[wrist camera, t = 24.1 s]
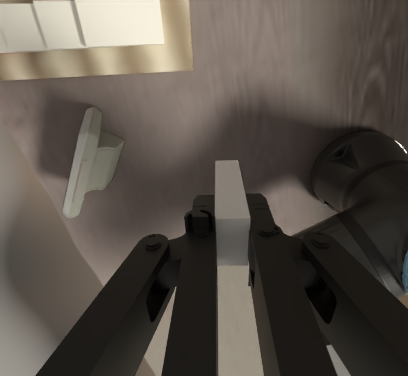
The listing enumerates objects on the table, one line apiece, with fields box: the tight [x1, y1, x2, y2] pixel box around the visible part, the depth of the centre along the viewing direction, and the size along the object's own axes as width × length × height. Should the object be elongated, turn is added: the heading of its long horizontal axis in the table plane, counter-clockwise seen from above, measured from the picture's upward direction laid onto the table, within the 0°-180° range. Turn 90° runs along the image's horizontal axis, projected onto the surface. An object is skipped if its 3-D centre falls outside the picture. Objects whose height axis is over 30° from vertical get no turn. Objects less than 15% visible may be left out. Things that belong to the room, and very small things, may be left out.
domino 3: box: [75, 0, 164, 48], centre depth 31 cm, size 2×5×10 cm
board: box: [0, 0, 194, 81], centre depth 34 cm, size 30×12×1 cm, turn 93°
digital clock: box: [62, 107, 125, 218], centre depth 39 cm, size 16×9×11 cm, turn 143°
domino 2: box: [33, 1, 128, 50], centre depth 31 cm, size 2×5×10 cm
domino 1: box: [0, 4, 94, 52], centre depth 31 cm, size 2×5×10 cm
